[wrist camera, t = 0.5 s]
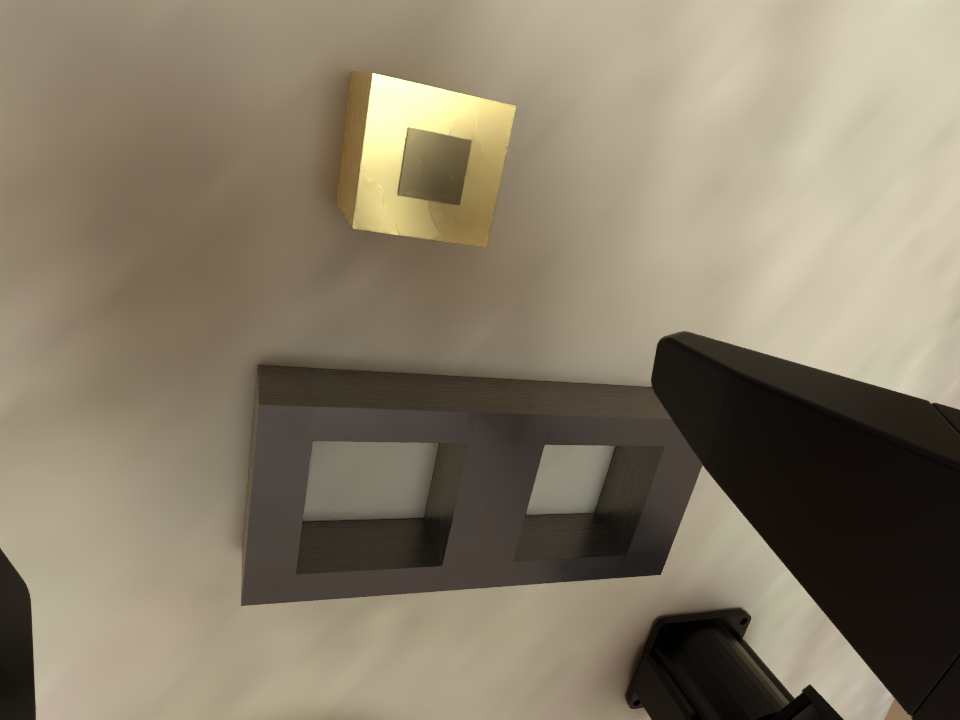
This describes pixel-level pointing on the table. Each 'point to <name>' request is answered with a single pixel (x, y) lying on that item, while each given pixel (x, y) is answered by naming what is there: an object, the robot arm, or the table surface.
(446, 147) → the nut
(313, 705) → the table surface
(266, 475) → the rail
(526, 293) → the table surface
